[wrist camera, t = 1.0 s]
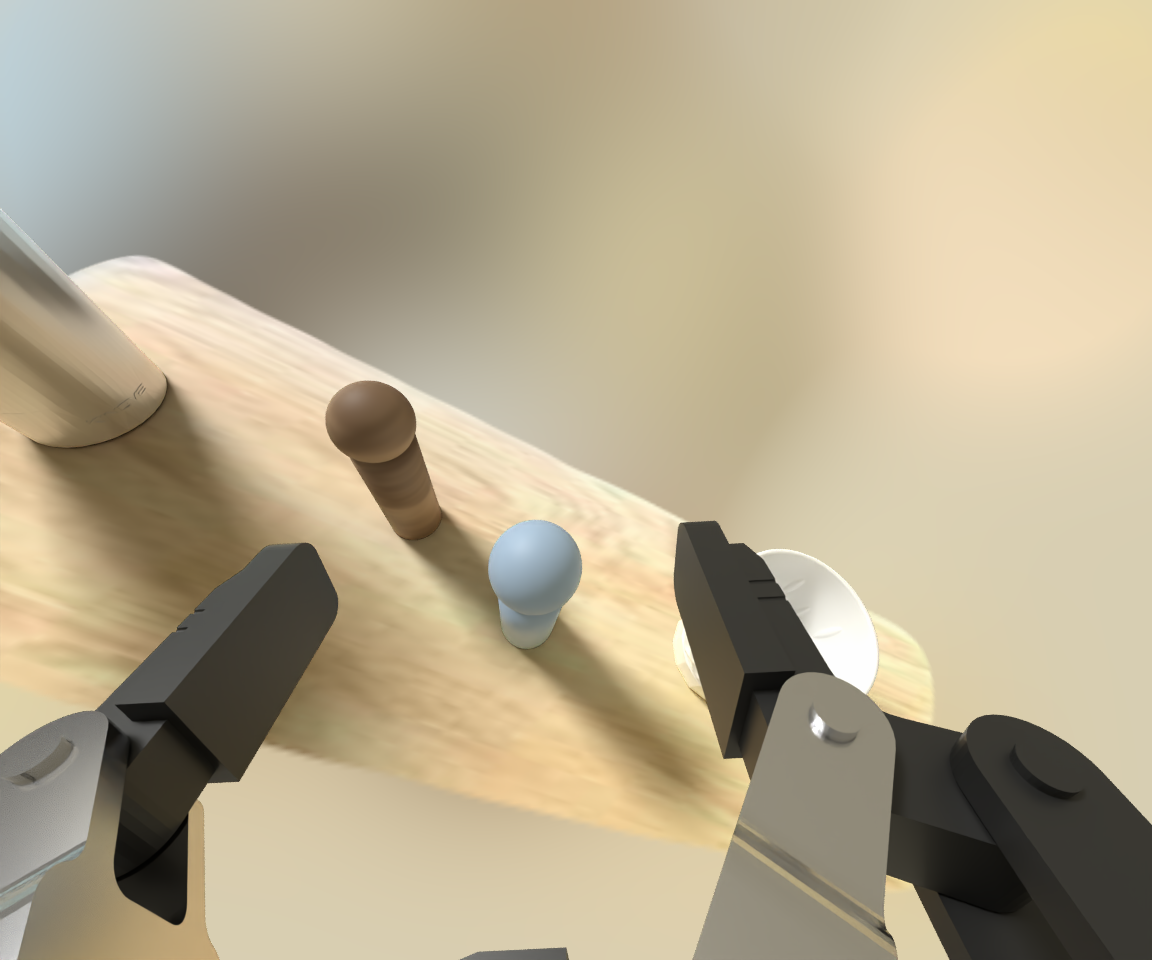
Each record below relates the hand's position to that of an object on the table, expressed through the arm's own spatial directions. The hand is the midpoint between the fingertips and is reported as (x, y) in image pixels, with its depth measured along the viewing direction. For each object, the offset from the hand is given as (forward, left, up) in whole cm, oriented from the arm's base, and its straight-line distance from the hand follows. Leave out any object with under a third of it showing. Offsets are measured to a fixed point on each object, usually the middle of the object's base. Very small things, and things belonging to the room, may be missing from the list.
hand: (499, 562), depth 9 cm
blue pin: (0, +3, -21) cm, 21 cm away
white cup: (+13, +7, -21) cm, 26 cm away
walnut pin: (-11, +6, -21) cm, 24 cm away
